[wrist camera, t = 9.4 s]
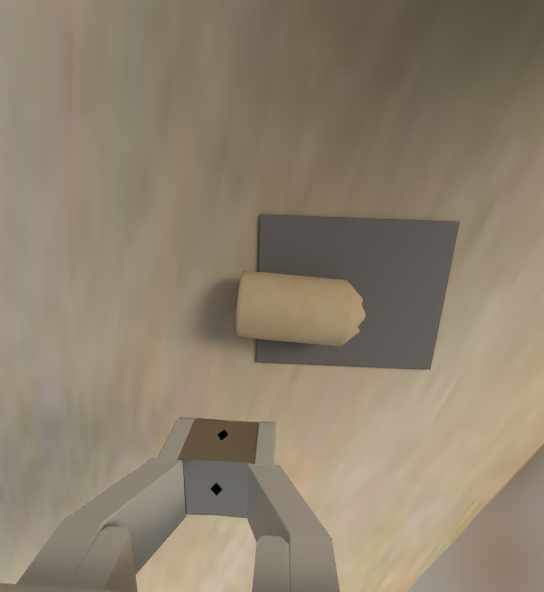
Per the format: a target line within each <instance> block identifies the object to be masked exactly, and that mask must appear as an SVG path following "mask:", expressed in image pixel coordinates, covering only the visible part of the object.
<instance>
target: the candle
mask: <svg viewBox="0 0 544 592" xmlns="http://www.w3.org/2000/svg"><path fill="white" fill-rule="evenodd" d="M362 302H363V298H362V297H361V296H360V295H359V294H358V293H357V291H356V290H355V289H354V288H353V287H352V286H351V284H350V283H349V282H348V281H347V280H340V279H329V278H319V277H308V276H298V275H287V274H276V273H266V272H255V271H243V273H242V276H241V280H240V284H239V290H238V298H237V308H236V334H237V336H239V337H245V338H254V339H265V340H276V341H287V342H297V343H308V344H319V345H330V346H342V345H344V344H345V343H346V342H347V341H349V340H350V339H351V338H352V337H353V336H355V335H356V334H358V333H359V332H360V330H359V328H358V326H359V325H360V323H361V322H362V321H363V320H364V318H365V311H364V309H363V307H362Z"/></svg>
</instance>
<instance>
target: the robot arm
mask: <svg viewBox="0 0 544 592" xmlns="http://www.w3.org/2000/svg"><path fill="white" fill-rule="evenodd" d="M275 437H276V423H275V422H247V421H228V420H215V419H202V418H185V417H180V418H179V419H178V420H177V421H176V423H175V425H174V427H173V429H172V431H171V433H170V435H169V437H168V439H167V441H166V442H165V444H164V446H163V448H162V450H161V452H160V454H159V456H158V458H157V459H155V458H152V459H150V460H149V461H148V462H146V463H145V464H143V465H142V466H140V467H139V468H137V469H136V470H135V471H133V472H132V473H130V474H129V475H127V476H126V477H125V478H123V479H122V480H120V481H119V482H117V483H116V484H115V485H113V486H112V487H110V488H109V489H107V490H106V491H104V492H103V493H102V494H100V495H99V496H97V497H96V498H94V499H93V500H92V501H90V502H89V503H87V504H86V505H84V506H83V507H82V508H80V509H79V510H77V511H76V512H74V513H73V514H71V515H70V516H69V517H67V518H66V519H64V520H63V521H62V522H61V523H60V525H59V526H58V527H57V529H56V530H55V532H54V533H53V534H52V536H51V537H50V538H49V540H48V541H47V543H46V544H45V545H44V547H43V548H42V549H41V551H40V552H39V554H38V555H37V556H36V558H35V559H34V560H33V562H32V563H31V565H30V566H29V567H28V569H27V570H26V571H25V573H24V574H23V576H22V577H21V578H20V580H19V581H18V582H17V584H5V583H0V592H137V584H136V576H135V575H136V574H137V573H138V571H139V570H140V569H141V568H142V567H143V566H144V564H145V563H146V562H147V561H148V560H149V559H150V558H151V556H152V555H153V554H154V553H155V552H156V551H157V549H158V548H159V547H160V546H161V545H162V544H163V542H164V541H165V540H166V539H167V538H168V537H169V536H170V534H171V533H172V532H173V531H174V530H175V529H176V527H177V526H178V525H179V524H180V523H181V522H182V521H183V519H184V518H185V517H186V514H189V515H219V516H230V517H241V518H248V522H249V525H250V527H251V529H252V532H253V534H254V537H255V539H256V542H257V545H256V556H255V567H254V577H253V588H252V592H340V590H339V583H338V576H337V570H336V563H335V557H334V550H333V544H332V538H331V537H330V535H329V534H328V532H327V531H326V530H325V528H324V527H323V525H322V524H321V523H320V521H319V520H318V518H317V517H316V516H315V514H314V513H313V511H312V510H311V509H310V507H309V506H308V504H307V503H306V502H305V500H304V499H303V497H302V496H301V495H300V493H299V492H298V490H297V489H296V488H295V486H294V485H293V483H292V482H291V481H290V479H289V478H288V476H287V475H286V474H285V472H284V471H283V469H282V468H281V467H280V466H279V465H275Z"/></svg>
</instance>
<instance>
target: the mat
mask: <svg viewBox="0 0 544 592" xmlns="http://www.w3.org/2000/svg"><path fill="white" fill-rule="evenodd" d="M458 227H459V222H450V221H423V220H396V219H369V218H342V217H315V216H288V215H261V214H260V246H259V272H266V273H276V274H287V275H298V276H308V277H319V278H329V279H340V280H347V281H348V282H349V283H350V284H351V286H352V287H353V288H354V289H355V290H356V291H357V293H358V294H359V295H360V296H361V297H362V298H363V302H362V307H363V309H364V311H365V318H364V320H363V321H362V322H361V323H360V325H359V326H358V328H359V330H360V332H359V333H358V334H356V335H355V336H353V337H352V338H351V339H350V340H349V341H347V342H346V343H345V344H344V345H342V346H330V345H319V344H308V343H297V342H287V341H276V340H265V339H257V362H261V363H285V364H309V365H333V366H357V367H381V368H405V369H429V370H430V368H431V363H432V358H433V353H434V348H435V343H436V338H437V333H438V328H439V323H440V318H441V313H442V308H443V303H444V298H445V293H446V288H447V283H448V278H449V273H450V268H451V263H452V258H453V253H454V247H455V242H456V237H457V232H458Z"/></svg>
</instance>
